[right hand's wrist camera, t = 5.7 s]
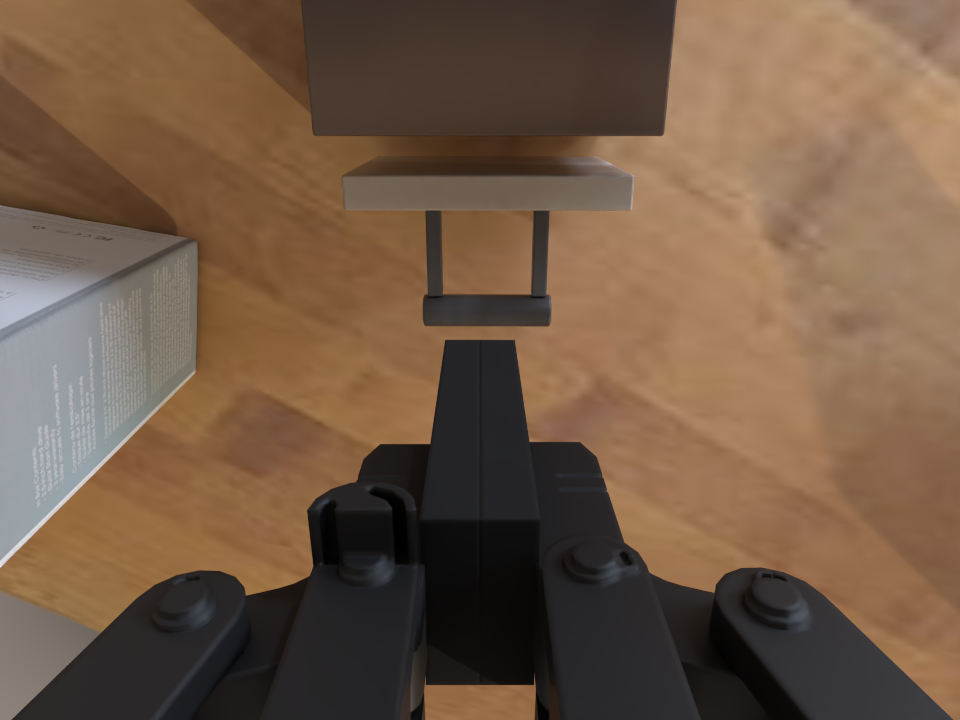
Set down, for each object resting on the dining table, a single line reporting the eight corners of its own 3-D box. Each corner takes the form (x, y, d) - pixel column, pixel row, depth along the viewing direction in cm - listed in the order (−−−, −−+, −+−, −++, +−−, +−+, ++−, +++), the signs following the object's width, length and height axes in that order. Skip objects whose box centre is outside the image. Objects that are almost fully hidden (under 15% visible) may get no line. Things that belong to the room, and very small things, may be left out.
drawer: (589, 296, 32) (620, 356, 25) (384, 296, 32) (354, 355, 25) (631, -376, 23) (699, -601, 16) (347, -375, 23) (283, -598, 16)
